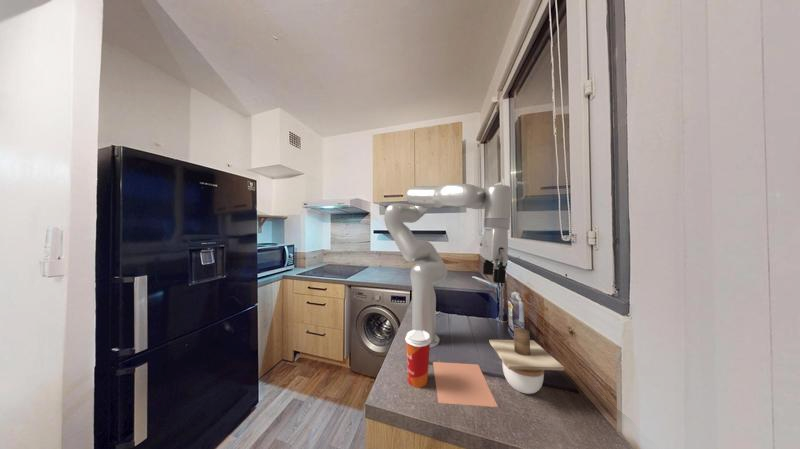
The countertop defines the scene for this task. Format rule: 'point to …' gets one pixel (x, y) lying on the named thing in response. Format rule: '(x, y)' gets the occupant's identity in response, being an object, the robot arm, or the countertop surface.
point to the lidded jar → (524, 379)
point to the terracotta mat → (462, 385)
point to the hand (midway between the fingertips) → (493, 278)
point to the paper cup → (417, 357)
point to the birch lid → (524, 353)
